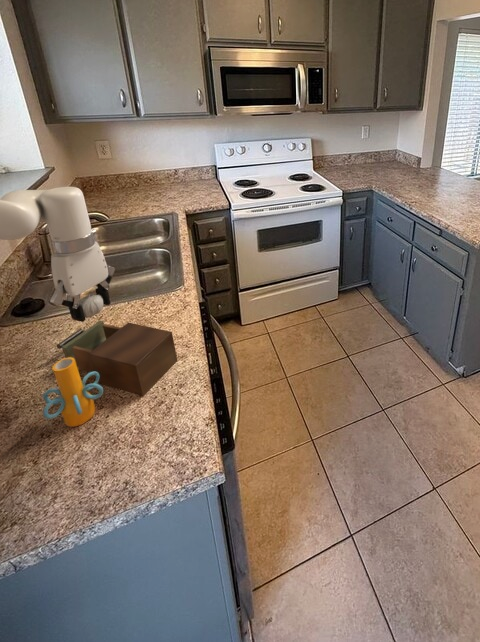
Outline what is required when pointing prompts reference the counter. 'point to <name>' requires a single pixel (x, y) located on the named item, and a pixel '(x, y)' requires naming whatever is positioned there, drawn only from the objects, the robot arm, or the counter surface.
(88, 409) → the yellow vase with loops
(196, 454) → the counter surface
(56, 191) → the robot arm
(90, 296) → the garlic
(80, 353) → the drawer
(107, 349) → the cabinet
